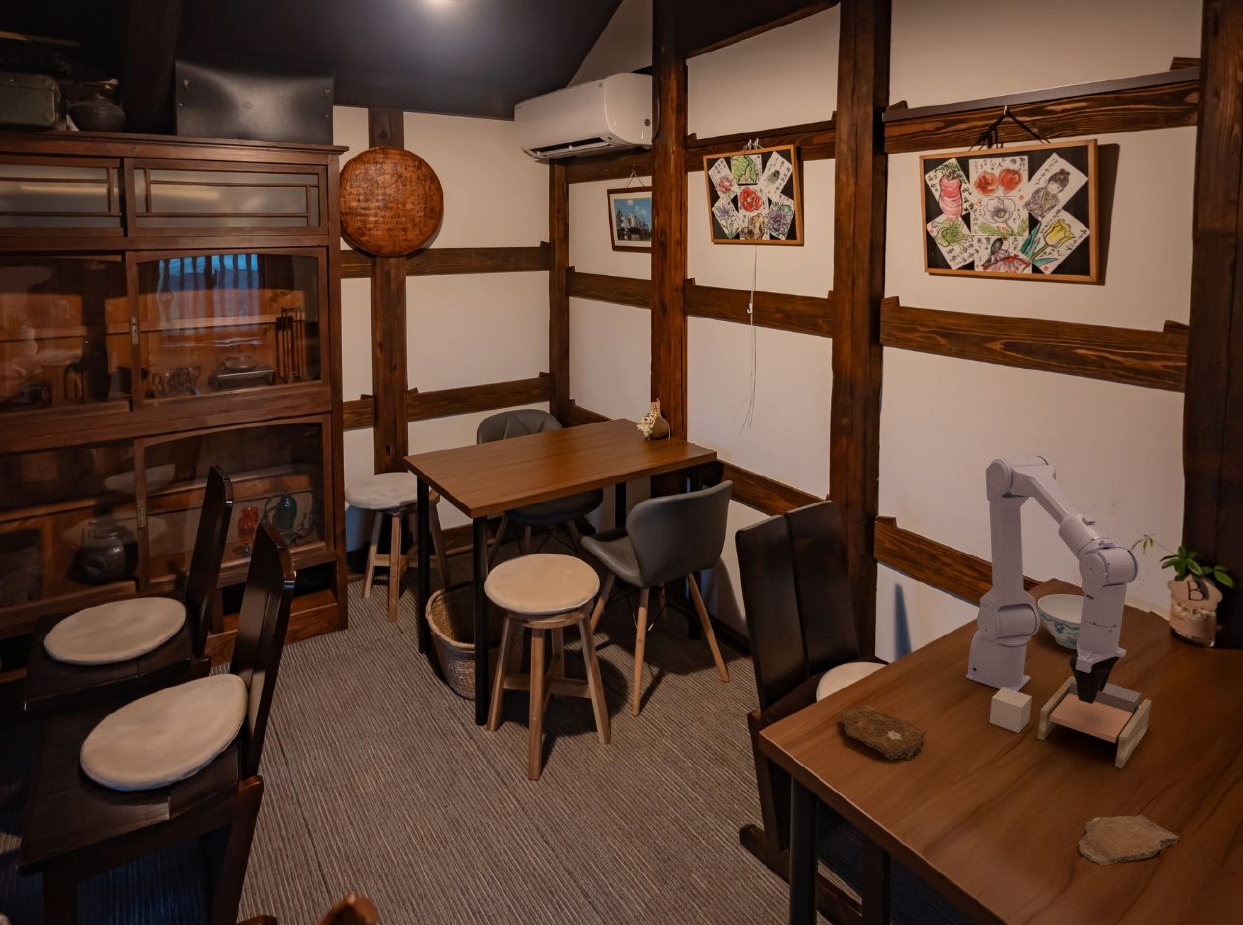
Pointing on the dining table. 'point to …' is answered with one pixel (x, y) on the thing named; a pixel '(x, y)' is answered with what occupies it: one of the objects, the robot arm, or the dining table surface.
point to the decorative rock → (883, 732)
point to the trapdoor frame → (1126, 739)
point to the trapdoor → (1098, 711)
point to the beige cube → (1010, 709)
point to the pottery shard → (1123, 839)
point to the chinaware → (1062, 617)
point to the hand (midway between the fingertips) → (1091, 695)
